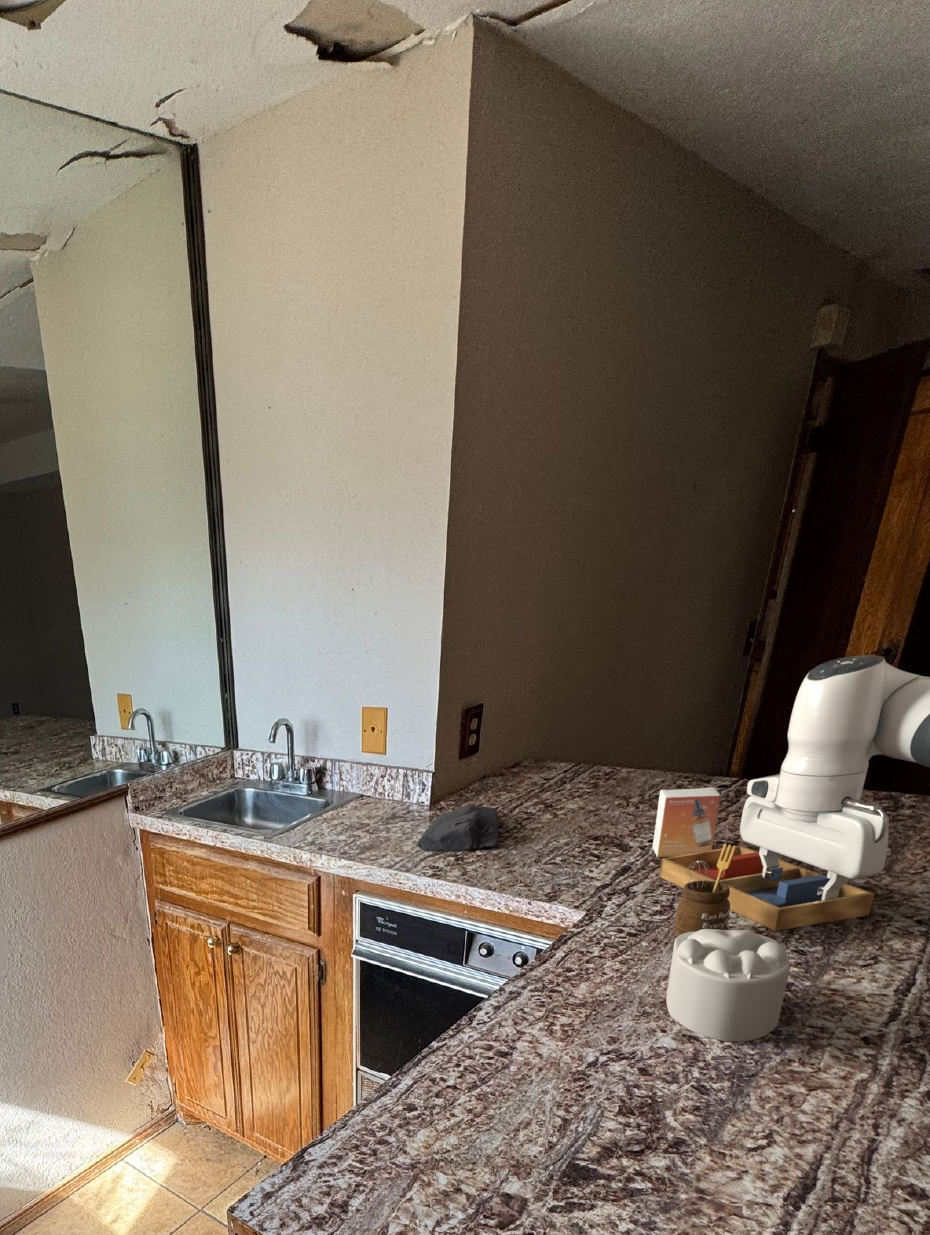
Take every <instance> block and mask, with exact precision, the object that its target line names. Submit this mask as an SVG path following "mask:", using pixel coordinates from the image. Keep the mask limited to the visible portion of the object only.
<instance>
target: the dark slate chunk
mask: <svg viewBox="0 0 930 1235" xmlns="http://www.w3.org/2000/svg"><path fill="white" fill-rule="evenodd" d="M498 814H499V813H498V810H497V808H495V807H486V806H480V805H476V804H469V805H466V806H462V807H459V808H457V809H454V810H451V811H447V812H444V813H441V814H439V815H437V816H436V818H435V819H434V820H433V821H432V823H431V824H430V825H429V827H427V828H426V829H425V830H424V832H423V833H422V835H421V837H420V838H419V839H418V841H417V843H416V845H415V846H416V847H418V848H420V849H422V851H424V852H426V851H430V852H437V851H444V852H468V851H473V850H482V849H486V848H493V847H495V846H497V844H498V840H499V829H498V828H499V820H498Z"/></svg>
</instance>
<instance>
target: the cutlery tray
mask: <svg viewBox="0 0 930 1235" xmlns="http://www.w3.org/2000/svg"><path fill="white" fill-rule="evenodd" d="M735 846H736V848H735V851H734V854H733V856H736V855H742V854H748V853H754V852H758V851H757V850H754V849H752V848H749V847H747V846H744V845H735ZM722 849H723V847H722V848H715V849H712V850H710V851H704V852H698V853H692V854H686V855H680V856H675V857H662V858H661V859H660V860H661V861H660V868H659V875H658V877H659V878H661V879H663V880H666V881H667V882H669V883H671V884H674V885H676V886H678V887H680V888H682V889H683V888H684V886H685V884H687V883H688V881H689V882H693V881H699V873H698V872H696V870H699V867H700V870H704V869H708V866H709V870H717V871H718V867H717V863H718V860H719V857H720V855H721V852H722ZM727 849H728V847H726V849H725V852H724V855H723V858H724V857H725V854H726V851H727ZM732 849H733V846H731V849H730V852H729V855H728V857H730V854H731V851H732ZM694 861H702V862H701V863H700V862H699V863H698V862H695V863H694ZM778 861H779V866H781V867H783V872H782V877H781V878H780V879H778V880H773V881H771V880H768V879H766V878H763V877H762V874H763V870H762V873H759V874H753V875H747V876H741V877H735V878H729V879H724V880H720V882H721V883H724V884H726V885H727V886H729V889H730V895H729V897H728V898H727V899H728V900H729V902H730V911H731V912H733V913H735V914H738V915H739V916H742V917H744V918H746V919H748V920H750V921H752V922H755V923H756V924H759V925H761V926H763V927H765V928H767V929H770V930H771V931H773V932H776V931H783V930H790V929H796V928H802V927H807V926H813V925H819V924H824V923H830V922H836V921H837V922H838V921H843V920H848V919H854V918H860V917H861V918H862V917H866V916H870V913H871V909H872V905H873V902H874V898H875V893H874V892H871V891H868V890H865V889H863V888H860V887H857V886H854V885H852V884H848V883H846V884H845V885H844V886H843V887H842V888H840V890H839V894H838V898H834V899H828V900H819V899H818V900H812V901H806V902H800V903H794V904H788V905H785V907H780V908H779V907H777V906H775V905H772V904H770V903H768V902H766V901H763V900H761V899H759V898H756V897H754V896H752V895H754V894H773V895H777V890H778V886H779V882H781V881H787V880H793V879H799V878H805V877H811V876H817V875H823V876H826V877H827V875H824V874H822V873H819V872H815V871H813V870H810V869H808V868H805V867H802V866H799V865H796V864H793V863H790V862H788V861H785V860H782V859H779V858H778ZM692 862H693V864H692V865H691V863H692ZM704 862H705V866H704V865H703V864H704ZM702 863H703V864H702ZM706 863H707V864H706ZM690 865H691V867H689V866H690ZM694 865H695V866H694ZM693 867H694V868H693ZM705 867H706V868H705ZM688 868H689V869H688ZM763 868H764V866H763ZM692 869H693V870H692ZM690 877H691V880H690ZM702 880H706V876H705V878H704V875H703V874H701V873H700V881H702ZM707 881H716V880H715V879H712V878H710V877H709V879H708V876H707Z"/></svg>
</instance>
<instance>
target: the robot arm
mask: <svg viewBox="0 0 930 1235" xmlns="http://www.w3.org/2000/svg"><path fill="white" fill-rule="evenodd" d="M787 742H788V749H787V753H786V755H785V758H784V760H783V761H782V763H781V766H780V772H779V773H776V774H774V775H773V774H772V775H768V776H763V777H759V778H753V779H751V780H748V782H747V786H746V793H747V795H749V796H748V797H747V799H746V800H745V802H744V805H743V809H742V812H741V813H742V814H741V819H740V824H739V834H740V836H741V840H742V841H743V842H745V843H748V844H751V845H754V846H756V847H759V851H758V852H759V855H760V858H761V861H762V864H763V866H764V868H763V874H762V877H763V878H766V879H768V880H771V881H773V880H778V879H780V878H781V877H782V872H783V867H781V866H779V861H778V859H779V855H782V856H786V857H787V858H792V859H794V860H796V861H799V862H801V863H805V864H808V865H811V866H813V867H817V868H818V869H822V870H825V871H827V875H826V876H827V878H829V879H830V881H829V882H828V883H827V884H826V885H825V886H822V887H818V889H817V894H816V898H817V899H819V900H828V899H834V898H838V894H839V890H840V888H842V887H843V886H844V885H845V884H848V882H849V881H850V880H858V879H865V878H870V877H875V876H877V875H878V874H879V873H881V872H882V871H883V870H884V868H885V865H886V859H887V854H888V846H889V832H890V831H889V825H890V824H889V823H890V819H889V816H888V815H887V814H886V812H885V811H884V810H883V809H882V806H881V805H880V804H877V803H872V802H866V801H864V800H861V799H862V795H863V790H864V785H865V782H866V778H867V773H868V768H869V760H870V759H871V758H872V757H873V756H877V755H883V756H886V757H889V758H892V759H897V760H902V761H907V762H911V763H915V764H919V765H920V766H924V767H926V768H930V676H924V675H920V674H915V673H912V672H909V671H905V670H901V669H899V668H897V667H896V666H892V665H891V664H889V663H888V662H886V659H885V658H884V657H882V656H880V655H874V654H859V655H858V654H857V655H852V656H847V657H845V656H843V657H839V658H835V659H832V660H828V661H826V662H823V663H821V664H819V665H817V666H816V667H814V668H812V669H810V670H809V671H808V673H807V674H806V675H805V677H804V678H803V680H802V682H801V684H800V686H799V689H798V691H797V694H796V696H795V700H794V703H793V707H792V711H791V714H790V719H789V724H788V729H787ZM778 854H779V855H778Z"/></svg>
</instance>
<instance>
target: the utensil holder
mask: <svg viewBox="0 0 930 1235" xmlns="http://www.w3.org/2000/svg"><path fill="white" fill-rule="evenodd" d="M736 846H737V845H733V846H732V844H728V845H727V843H724V844H723V846H722V848H723V849H722V848H721V849H722V852H721V855H720V857H719V860H718V863H717V867H718V868H719V869H720V871H719V874H718V877H717V880H716V881H707V870H706V880H702V881H700V867H699V881H693V882H689V881H688V883H687V884H685V886H684V888H682V891H681V894H682V896H681V897H680V898H679V900H678V903H677V907H676V913H675V919H674V934H675V935H676V936H677V937H678V936H680V935H682V934H684V933H688V932H697V931H699V930H702V929H718V930H728V923H729V918H730V911H731V910H730V902H729V900H728V899H727V898H728V897H729V895H730V889H729V886H727V885H726V884H724V883H721V882H720V879H721V876H722V873H723V871H724V870H726V869H728V868H729V867H730V864H731V861H732V858H733V854H734V851H735V848H736ZM731 847H733V849H732V851H731V854H730V857H729V860H728V862H727V858H728V855H729V852H730V849H731ZM726 848H728V849H727V851H726V854H725V857H724V860H723V861H722V858H723V855H724V852H725V849H726ZM695 862H698V863H699V862H700V863H701V862H702V861H694V863H695ZM692 864H693V862H692V863H691V865H692ZM702 864H703V863H702ZM706 864H707V863H706ZM691 865H690V866H689V867H691ZM703 865H704V866H705V862H704V864H703ZM694 866H695V865H694ZM693 868H694V867H693ZM705 868H706V867H705ZM688 869H689V868H688ZM708 869H709V866H708ZM692 870H693V869H692ZM704 878H705V874H704ZM708 879H709V877H708ZM690 880H691V877H690Z"/></svg>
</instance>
